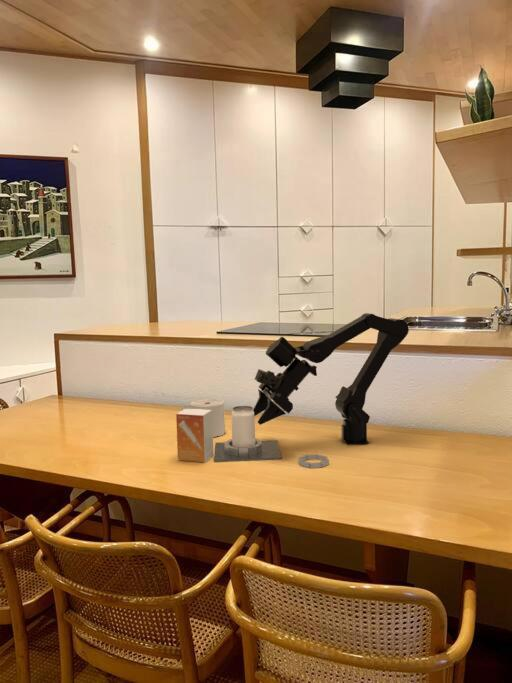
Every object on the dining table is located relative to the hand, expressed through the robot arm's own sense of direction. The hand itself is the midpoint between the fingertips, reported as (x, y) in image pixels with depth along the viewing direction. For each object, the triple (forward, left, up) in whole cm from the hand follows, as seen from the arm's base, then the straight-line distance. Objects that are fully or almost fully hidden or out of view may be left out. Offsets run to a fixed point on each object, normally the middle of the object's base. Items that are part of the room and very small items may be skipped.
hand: (255, 419), depth 148 cm
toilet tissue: (+15, -18, -9) cm, 25 cm away
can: (+4, 0, -9) cm, 9 cm away
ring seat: (+4, +1, -9) cm, 10 cm away
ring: (-14, +13, -9) cm, 21 cm away
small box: (+17, +5, -9) cm, 20 cm away
